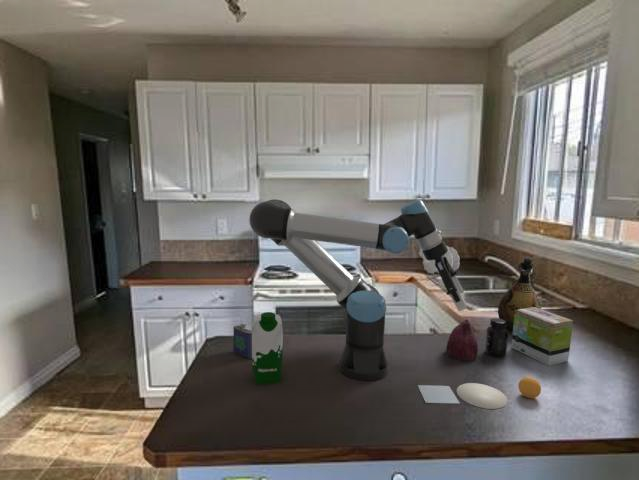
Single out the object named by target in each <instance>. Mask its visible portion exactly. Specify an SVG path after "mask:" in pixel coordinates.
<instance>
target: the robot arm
mask: <svg viewBox="0 0 639 480" xmlns="http://www.w3.org/2000/svg"><path fill="white" fill-rule="evenodd" d="M400 212H401V214H400V215H399V216H397V217H395V218H393V219H391V220H390V221H387V222H385V223H383V224H382V223H377V222H376V223H374V222H368V221H367V222H366V221H362V220H361V221H360V220H351V219H345V218H344V219H343V218H337V217H331V216H330V217H329V216H322V215H314V214H309V213H308V214H307V213H301V212H296V211H295V210H294V208H292V207H291V206H290V205H289V204H288V203H287V202H286V201H284V200H280V199H275V198H274V199H269V200H266V201H262V202H260V203H258V204H256V205H255V206H254V207H253V208H252V210H251V211H250V213H249V225H250V228H251V230H252V231H253V232H254V234H255V235H257V236H258V237H260V238H263V239H268V240H269V239H270V240H272V242H274V243H275V245H277V246H278V247H285V248H287V249H288V250H289V252H290V253H291V254H293V255H294V256H295V257H296V258H297V259H298V260H299V261H300V262H301V263H302V264H303V265H304V266H305V267H306V268H307V269H309V271H310V272H312V273H313V275H315V276H316V277H317V278H318V279H319V280H320V281H321V282H322V283H323V284H324V285H325V286H326V287H327V288H328V289H329V290H330V291H332V292H333V294H335V297H336V298H335V299H336V303H337V304H338V305H339V306H341V307H342V308H343V309H344V310H345V311H346V323H345V325H346V328H345V345H344V347H343V350H342V353H341V354H340V357H339V361H338V363H339V364H338V366H339V367H338V369H339V371H340V372H341V373H342V374H343V375H344V376H346V377H347V378H351V379H354V380H359V381H368V382H369V381H377V380H381V379H383V378H385V377H386V376H387V375H388V374H389V361H388V358H387V354H386V351H385V347H384V346H385V345H384V344H385V343H384V342H385V324H386V323H385V322H386V312H387V304H386V300H385V299H386V298H385V297H384V296H383V295H382V294H380V292H379V291H378V289H376V287H375V286H373V285H371V284H368V283H367V281H365V279H364V278H362V277H361V276H354V275H353V274H352V273H350V272H349V270H347V269H346V268H345V266H343V265H342V264H341V263H340V262H339V261H338V259H336V258H335V257H334V256H333V255H332V254H331V253H330V252H329V251H328V250H327V249H326V248H324V247H323V245H321V244H320V243H319V242H323V243H329V244H331V243H333V244H337V245H338V244H339V245H347V246H354V247H359V248H368V249H369V248H370V249H376V250H381V251H387V252H389V253H391V254H396V255H397V254H402V253H403V252H404V251H405V250H407V249H408V246H409V243H410V237H411V236H414V239H415V241H416V242H417V244H418V245H417V246H418V247H419V248H420V249H423V251H422V252H423V254H424V256H425V258H426V259H427V260H435V266H436V268H437V269H438V272H439V276H440V278H441V280H442V282H443V284H444V286H445V289H446V291H447V292H446V295H449V296H450V298H451V299H452V301H453V303H454V305H455V307H456V309H457V311H458V312H461V311H463V310H466V309H468V307H467V305H466V303H465V300H464V299H463V298H462V295H461V294H464V293H465V291H464V289H463V287H462V285H461V283H460V282H459V279H458V278H457V276H456V275H458V273H457V270H455V271H454V270H453V269H452V267H451V266H450V264H449V262H448V260H447V258H446V257H445V256H444V254H446V253H447V251H448V249H447V247H446V246H447V245H446V243H445V241H444V240H443V237H442V236H441V233H442V231H441V230H438V228H437V226H436V223H435V221H434V220H433V218H432V216H431V214H430V211H429V210H428V209H427V207H426V205H425V203H424V202H423V201H422V200H421V199H416V200H412V201H410V202H409V203H407V204H405V205H404V206H402V207H401V208H400ZM420 249H419V250H420ZM438 272H437V273H438Z"/></svg>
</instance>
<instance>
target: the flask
mask: <svg viewBox="0 0 639 480" xmlns="http://www.w3.org/2000/svg"><path fill="white" fill-rule="evenodd" d="M232 343H233V349H232V351H233V354H234V355H236V356H238V357H240V358H244V359H245V360H252V329H251V330H250V329H247V328H246V323H244V324H243V323H241V324H239V325H237V324H236V325H234V326H233V342H232Z"/></svg>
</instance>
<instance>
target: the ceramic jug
mask: <svg viewBox="0 0 639 480" xmlns="http://www.w3.org/2000/svg"><path fill="white" fill-rule="evenodd" d="M532 262H533V258H532V257H531V256H527V257H524V259H523V262H519V263H518V266H517V268H518V270H519V272H520V275H519V277H518V279H517V281H516V282H515V283H513V285H511V287H509V289H507V291H506V292H505V293H504V294H503V296H502V297H501V299H500V301H499V304H498V307H497V309H498V310H497V314H498V319H503V320H505V321H506V327H505V328H506V329H507V330H508V334H511V335H512V334H513V325H514V315H515V310H519V309H525V308H530V307H536V308H539V309H542V306H541V302H540V299H539V297H538V295H537V293H536V291H535V289H534V288H533V286H532V284H531V281H530V273H531V272H532V270H533V264H532Z"/></svg>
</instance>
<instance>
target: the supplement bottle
mask: <svg viewBox="0 0 639 480" xmlns="http://www.w3.org/2000/svg"><path fill="white" fill-rule="evenodd" d="M505 327H506V321H505V320H503V319H499V317H498V318H497V317H493V318H491V319H490V322H489V326H488V327H486V331H485V343H484V353H485V354H486V355H488V356H489V357H493V358H498V359H499V358H505V357H506V356H507V353H508V352H507V351H508V350H507V349H508V339H509V333H508V330H507V329H506V328H505Z"/></svg>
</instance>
